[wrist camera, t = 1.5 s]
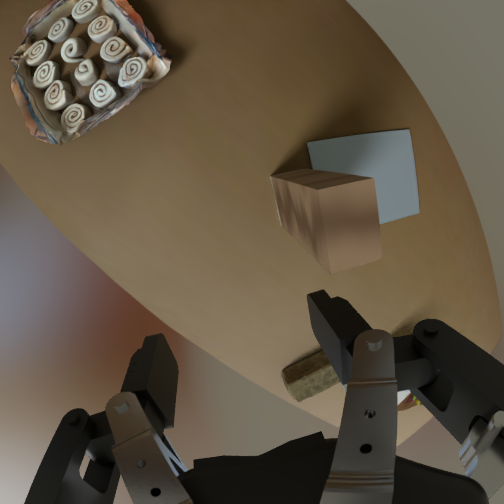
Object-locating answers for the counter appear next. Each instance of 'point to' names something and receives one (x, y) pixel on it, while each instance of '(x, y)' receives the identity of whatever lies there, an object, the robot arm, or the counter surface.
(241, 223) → the counter surface
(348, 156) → the mat
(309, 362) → the stone block
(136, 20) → the baking tray
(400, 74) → the counter surface
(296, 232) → the walnut block
